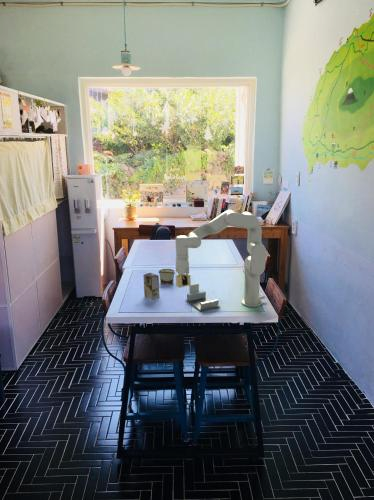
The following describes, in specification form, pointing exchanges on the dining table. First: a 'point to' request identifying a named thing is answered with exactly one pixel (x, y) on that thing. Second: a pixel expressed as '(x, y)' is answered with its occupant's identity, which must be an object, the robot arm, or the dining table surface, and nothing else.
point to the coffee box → (151, 286)
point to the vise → (204, 304)
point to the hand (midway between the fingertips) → (183, 283)
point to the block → (180, 280)
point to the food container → (166, 276)
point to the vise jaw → (195, 292)
